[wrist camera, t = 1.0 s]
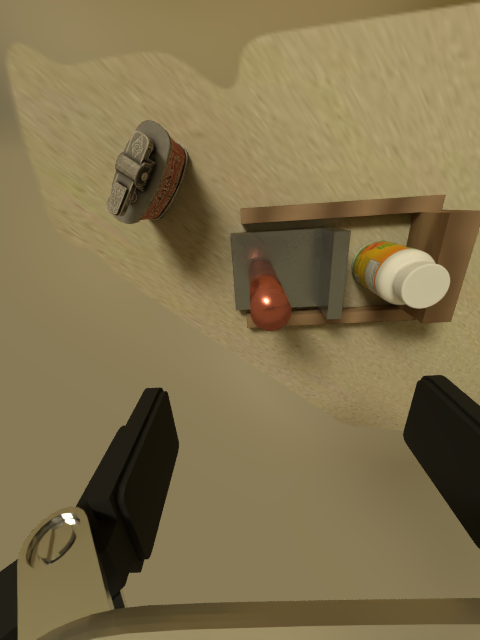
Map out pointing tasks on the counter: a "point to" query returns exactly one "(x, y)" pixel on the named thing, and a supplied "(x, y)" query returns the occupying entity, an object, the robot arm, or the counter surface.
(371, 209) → the bench clamp
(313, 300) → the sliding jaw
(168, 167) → the lighter
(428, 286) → the supplement bottle
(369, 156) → the counter surface
